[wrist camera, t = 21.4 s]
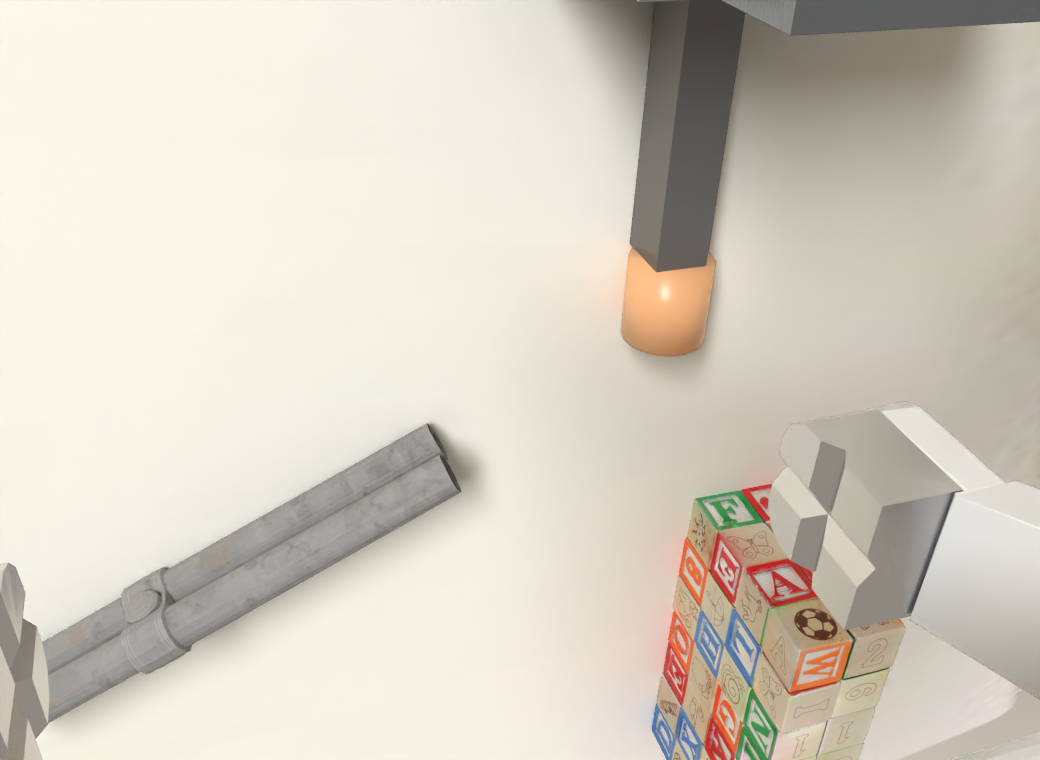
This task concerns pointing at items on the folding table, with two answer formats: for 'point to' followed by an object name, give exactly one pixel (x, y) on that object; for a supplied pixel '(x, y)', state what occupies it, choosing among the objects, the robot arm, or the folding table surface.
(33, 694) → the robot arm
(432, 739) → the folding table surface
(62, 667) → the metal rod assembly
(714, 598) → the stack of blocks
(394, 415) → the folding table surface
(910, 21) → the grey notched block
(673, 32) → the plug
